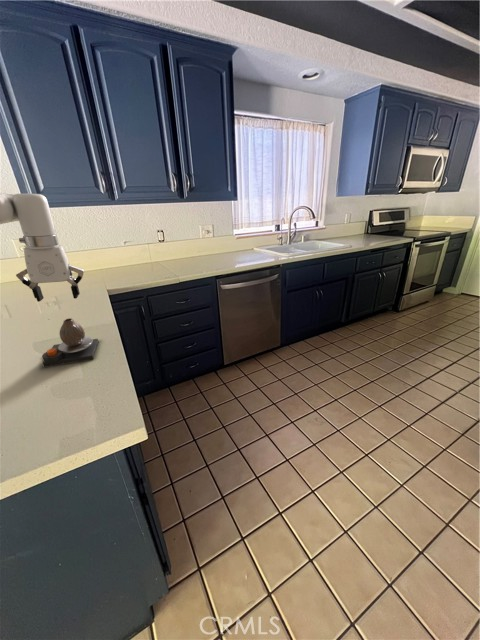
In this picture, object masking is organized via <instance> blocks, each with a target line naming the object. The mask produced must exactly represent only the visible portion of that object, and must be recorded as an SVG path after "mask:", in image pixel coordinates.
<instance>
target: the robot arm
mask: <svg viewBox="0 0 480 640" xmlns="http://www.w3.org/2000/svg"><path fill="white" fill-rule="evenodd" d="M14 222H19V225H20V228H21V231H22V237H19V238H18V241H19V243H20V244H25V246H26V247H24V248H23V255H24V261H25V267H26V268H25V269H23V270H21V271H19V272H18V273H16V274H15V276H16V278H17V279H18V280H19V281H20V282H21V283H22V284H23V285H25V286H27V287H28V289H30V290H31V291H32V294H33V297H34V299H36V302H37V303H39V302H41V301H43V299H44V295H43V292H42V289H41V286H40V285H39V284H46V283H49V284H50V283H62V282H68V283H69V284H70V285H71V286H70V290H71V293H72V297H73V299H75V300H76V299H77V298H78V297H79V295H80V294H81V293H80V289H79V283H80V282H81V281H82V280H83V277H84V274H85V269H83V268H81V267H77V266H74V265H72V264H70V261H69V259H68V255H67V253H66V252H65V249H64V247H63V245H61V244H60V243H59V240H58V235H57V232H56V228H55V224H54V220H53V216H52V213H51V209H50V205H49V201H48V199H47V197H45V195H43V194H40V193H15V194H12V193H5V192H0V225H3V224H9V223H14ZM73 272H74V273H77V277H76V278H75V277H74V276H73ZM26 275H28V278H29V279H28V278H27V276H26Z"/></svg>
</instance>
